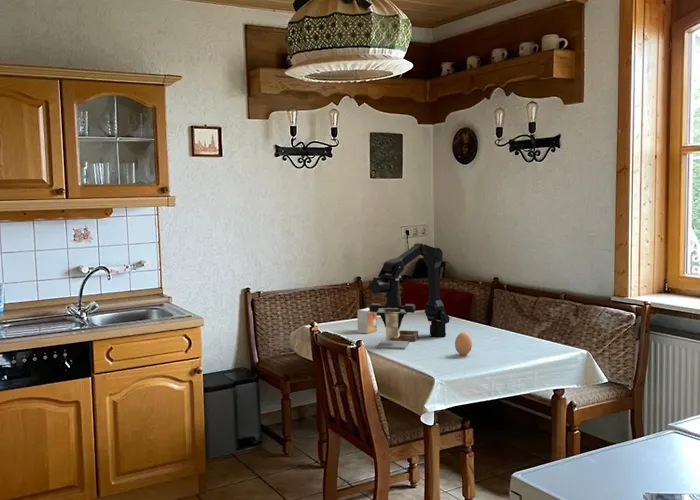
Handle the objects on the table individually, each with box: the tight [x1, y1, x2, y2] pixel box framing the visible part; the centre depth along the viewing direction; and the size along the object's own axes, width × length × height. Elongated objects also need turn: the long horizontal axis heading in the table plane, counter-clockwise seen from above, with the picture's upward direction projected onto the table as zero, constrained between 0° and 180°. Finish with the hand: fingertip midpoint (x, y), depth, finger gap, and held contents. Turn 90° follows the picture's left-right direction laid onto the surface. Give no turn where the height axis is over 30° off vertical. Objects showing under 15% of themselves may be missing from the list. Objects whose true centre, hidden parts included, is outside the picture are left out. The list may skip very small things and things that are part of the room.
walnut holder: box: [390, 330, 419, 342], centre depth 314 cm, size 10×10×2 cm
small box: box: [356, 307, 378, 334], centre depth 330 cm, size 8×6×10 cm
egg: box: [454, 331, 473, 356], centre depth 282 cm, size 7×7×9 cm
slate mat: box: [375, 339, 410, 350], centre depth 300 cm, size 12×12×1 cm
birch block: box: [385, 311, 400, 339], centre depth 300 cm, size 5×5×10 cm
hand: (392, 328), depth 300 cm, fingers closed on birch block, 5 cm apart
